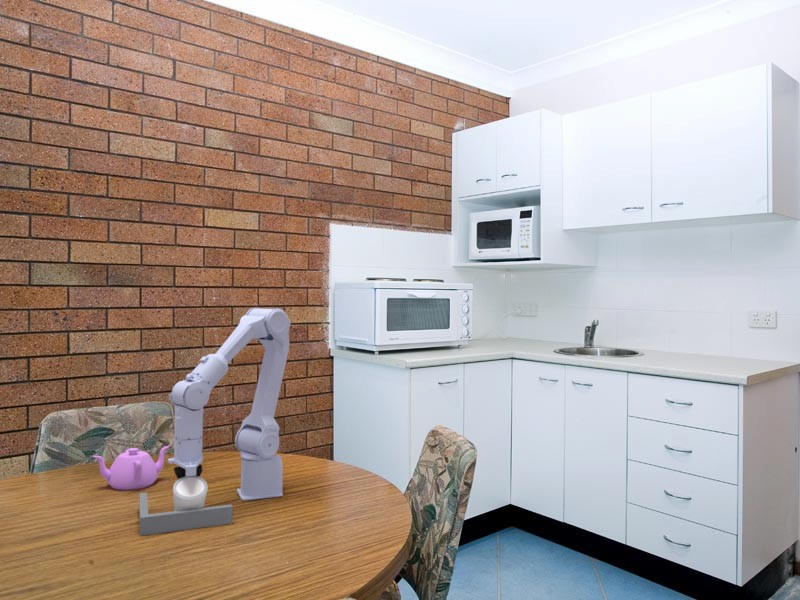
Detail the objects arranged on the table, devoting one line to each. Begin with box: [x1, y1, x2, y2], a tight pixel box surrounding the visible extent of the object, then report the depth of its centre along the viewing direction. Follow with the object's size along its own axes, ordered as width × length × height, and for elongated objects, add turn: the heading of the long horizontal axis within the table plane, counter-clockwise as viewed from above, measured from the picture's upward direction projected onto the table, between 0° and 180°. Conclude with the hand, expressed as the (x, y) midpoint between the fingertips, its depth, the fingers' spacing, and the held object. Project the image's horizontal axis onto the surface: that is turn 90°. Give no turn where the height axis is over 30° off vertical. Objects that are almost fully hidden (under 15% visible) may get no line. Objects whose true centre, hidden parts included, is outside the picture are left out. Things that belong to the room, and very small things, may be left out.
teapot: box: [92, 444, 171, 491], centre depth 151 cm, size 12×14×9 cm
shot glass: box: [172, 476, 209, 511], centre depth 127 cm, size 7×7×7 cm
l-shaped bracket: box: [138, 492, 234, 537], centre depth 130 cm, size 18×16×4 cm
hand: (187, 500), depth 131 cm, fingers closed, pressing on shot glass
